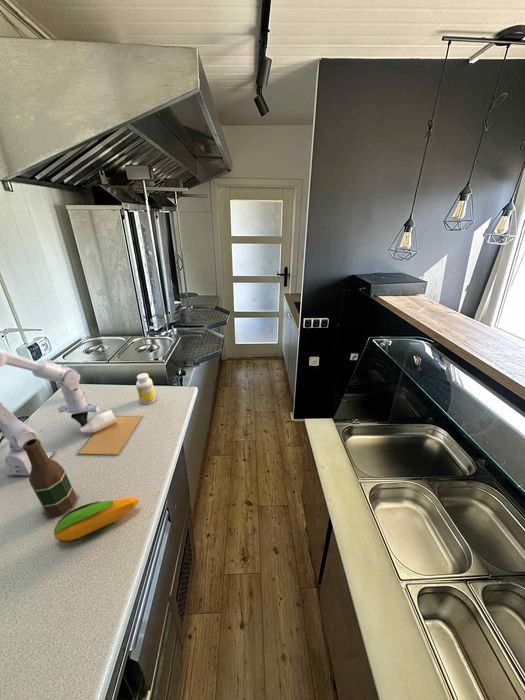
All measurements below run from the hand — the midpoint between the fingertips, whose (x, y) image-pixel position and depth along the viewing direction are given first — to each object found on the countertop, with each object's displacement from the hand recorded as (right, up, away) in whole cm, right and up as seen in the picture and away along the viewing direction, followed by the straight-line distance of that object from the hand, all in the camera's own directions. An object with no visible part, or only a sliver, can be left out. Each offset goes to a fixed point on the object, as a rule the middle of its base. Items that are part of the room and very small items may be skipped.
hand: (85, 426), depth 111 cm
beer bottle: (+10, -16, -27) cm, 33 cm away
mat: (+11, -3, -1) cm, 12 cm away
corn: (+25, -18, -33) cm, 45 cm away
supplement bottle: (+17, +7, +18) cm, 26 cm away
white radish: (+5, -1, +1) cm, 5 cm away
